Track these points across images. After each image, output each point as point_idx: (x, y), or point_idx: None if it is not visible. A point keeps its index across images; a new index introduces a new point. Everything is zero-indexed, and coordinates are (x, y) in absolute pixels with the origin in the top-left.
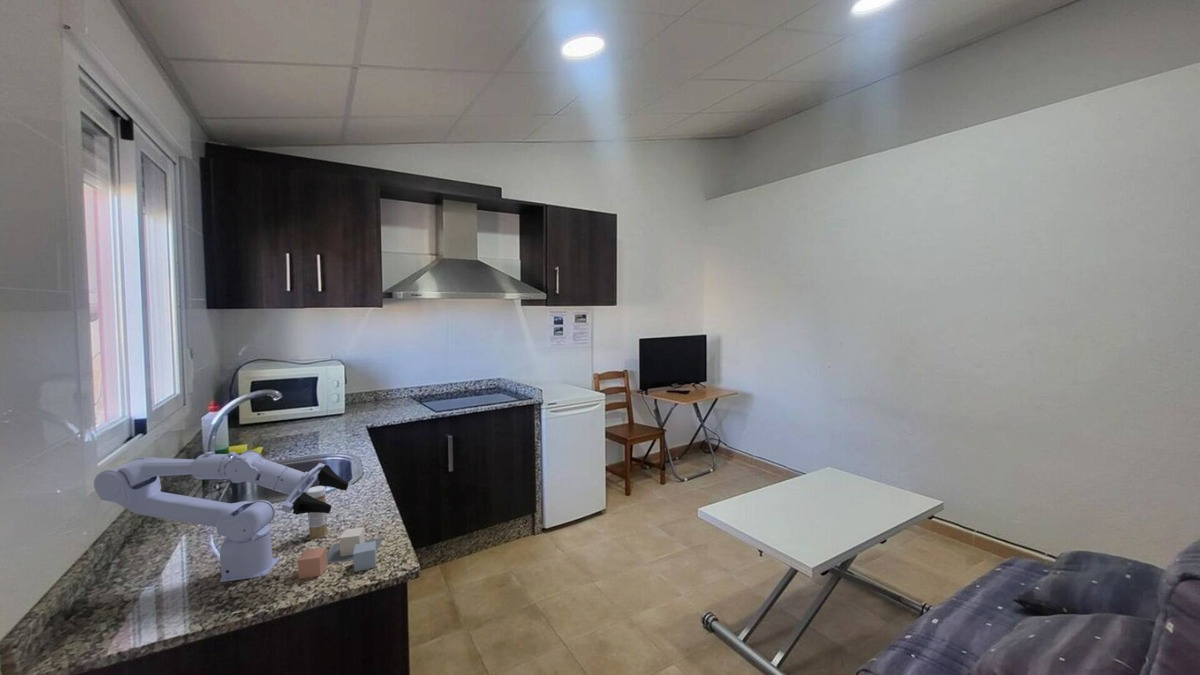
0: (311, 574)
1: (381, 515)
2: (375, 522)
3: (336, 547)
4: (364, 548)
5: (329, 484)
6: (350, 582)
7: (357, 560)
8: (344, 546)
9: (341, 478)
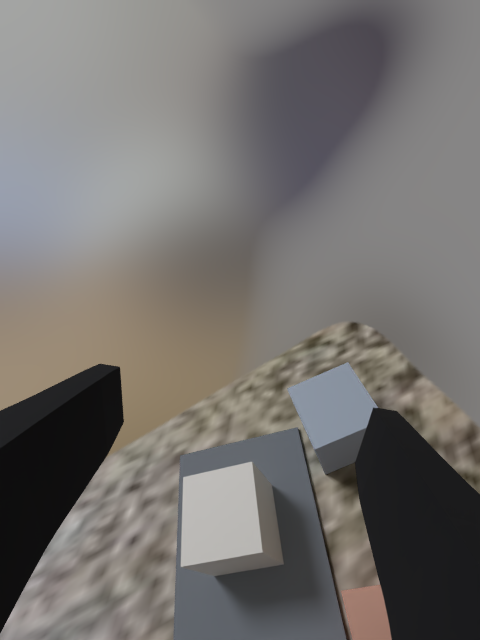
0: None
1: None
2: (51, 543)
3: (206, 631)
4: (342, 398)
5: (10, 577)
6: (443, 432)
7: None
8: (270, 537)
9: (34, 395)
